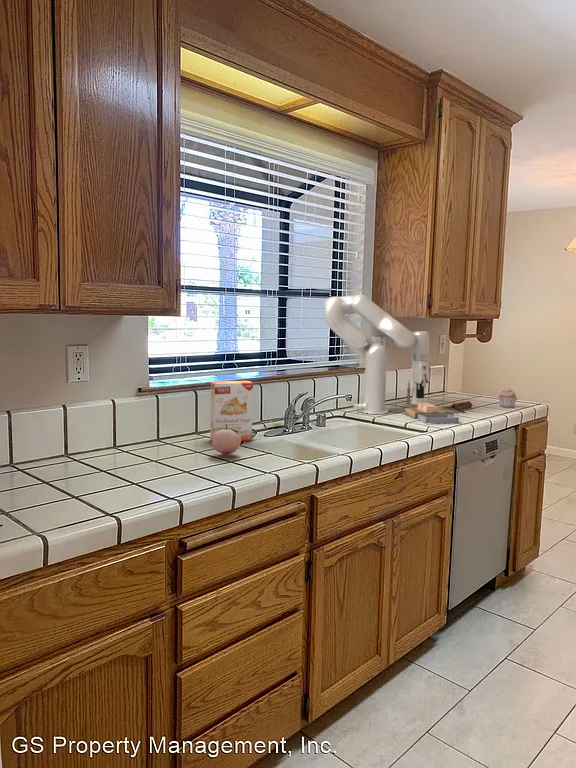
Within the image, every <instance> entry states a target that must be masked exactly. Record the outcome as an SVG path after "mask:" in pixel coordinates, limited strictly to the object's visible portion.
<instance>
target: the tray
mask: <svg viewBox="0 0 576 768" xmlns="http://www.w3.org/2000/svg"><path fill="white" fill-rule="evenodd" d="M417 419H418V420H417V421H419V420H420V421H419V422H421V421H422V422H421V423H423V422H424V423H423V424H425V423H458V424H459V417H457V416H456V415H454V416H453V415H450V414H418V415H417Z"/></svg>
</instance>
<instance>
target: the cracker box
mask: <svg viewBox="0 0 576 768" xmlns="http://www.w3.org/2000/svg"><path fill="white" fill-rule="evenodd" d="M253 402H254V383H253V382H252V381H249V380H226V381H225V380H224V381H222V380H219V381H210V425H209V427H210V433H209V435H210V437H209V438H210V440H211V441H212V436H213V434H214V432H215V431H216V430H218V429H215V430H214V431H212V430H213V429H214V428H217V427H224V428H226V424H227V428H237V429H238V430H240V432H241V433H240V432H239V433H240V436H241V442H245V441H247V442H248V441H253V414H254V413H253V406H254V403H253Z"/></svg>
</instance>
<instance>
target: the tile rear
mask: <svg viewBox="0 0 576 768" xmlns="http://www.w3.org/2000/svg"><path fill="white" fill-rule="evenodd" d="M423 405H432V404H431V403H429V402H425V403H418V406H417V408H418V409H420V410H422V406H423Z"/></svg>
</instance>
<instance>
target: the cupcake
mask: <svg viewBox="0 0 576 768" xmlns="http://www.w3.org/2000/svg"><path fill="white" fill-rule="evenodd" d="M516 396H517V395H516V392H515V390H512V389H511V387H509V386H508V387H506V388H504V389H503V390H502V391H501V392H500V393H499V396H497V398H498V401H499V406H500V407H501V408H503V407H505V408H506V409H513V408H515V405H516V403H517V400H518V397H516ZM505 408H504V409H505Z"/></svg>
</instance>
